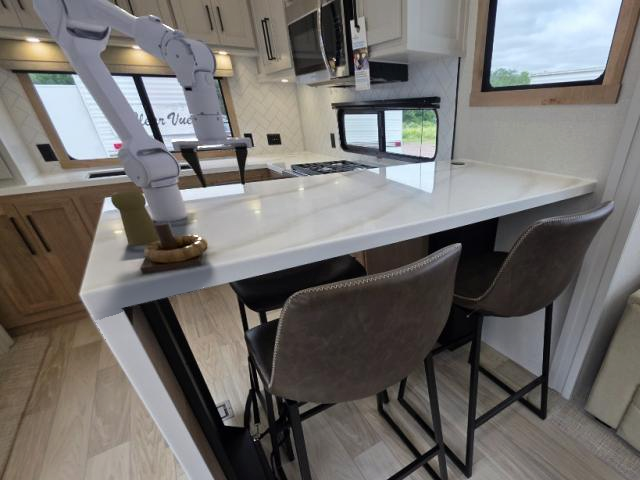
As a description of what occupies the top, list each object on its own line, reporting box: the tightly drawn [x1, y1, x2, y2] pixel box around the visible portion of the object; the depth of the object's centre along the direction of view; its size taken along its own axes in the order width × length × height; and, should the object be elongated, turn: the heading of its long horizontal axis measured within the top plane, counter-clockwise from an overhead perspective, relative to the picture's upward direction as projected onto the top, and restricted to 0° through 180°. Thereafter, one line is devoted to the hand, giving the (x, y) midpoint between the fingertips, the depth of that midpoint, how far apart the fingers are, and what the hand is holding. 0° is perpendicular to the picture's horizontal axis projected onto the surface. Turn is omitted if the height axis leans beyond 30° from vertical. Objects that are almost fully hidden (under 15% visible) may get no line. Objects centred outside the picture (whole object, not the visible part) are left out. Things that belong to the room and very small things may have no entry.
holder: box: [139, 221, 203, 275], centre depth 60 cm, size 9×9×7 cm
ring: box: [143, 234, 208, 263], centre depth 61 cm, size 10×10×2 cm
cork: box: [110, 189, 159, 247], centre depth 65 cm, size 6×6×11 cm
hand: (224, 185), depth 73 cm, fingers open, 7 cm apart
